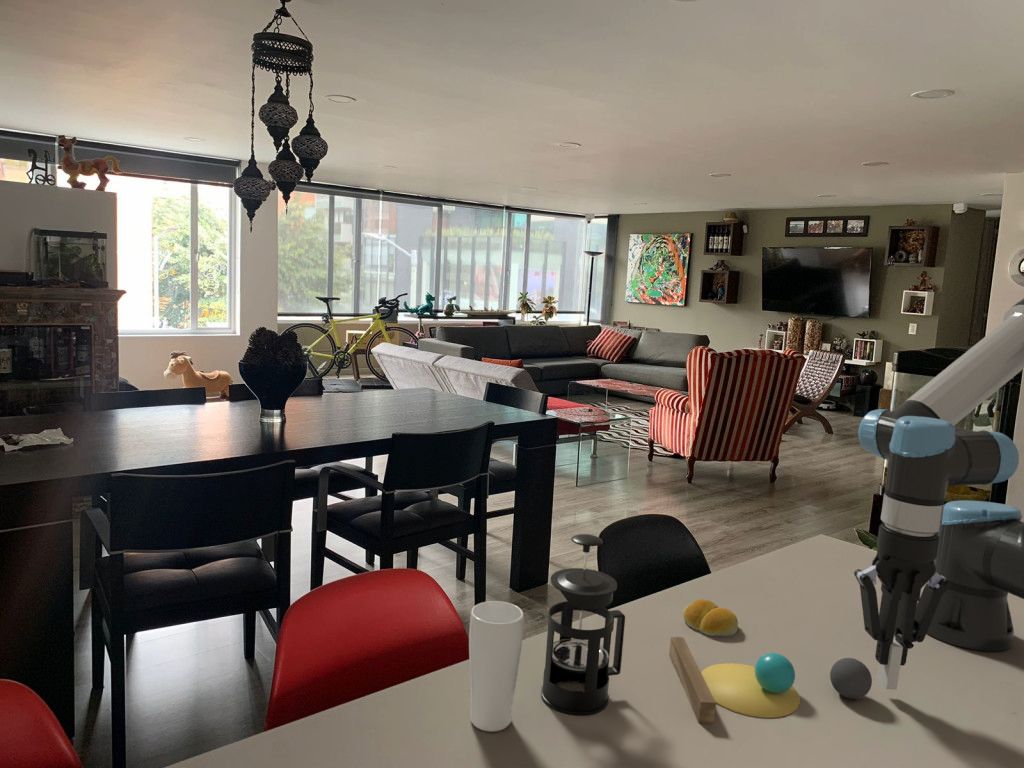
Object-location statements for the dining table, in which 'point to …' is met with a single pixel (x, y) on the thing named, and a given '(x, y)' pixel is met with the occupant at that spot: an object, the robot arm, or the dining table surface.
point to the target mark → (747, 692)
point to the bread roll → (710, 618)
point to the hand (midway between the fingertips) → (886, 684)
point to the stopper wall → (692, 681)
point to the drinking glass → (494, 662)
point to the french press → (582, 639)
